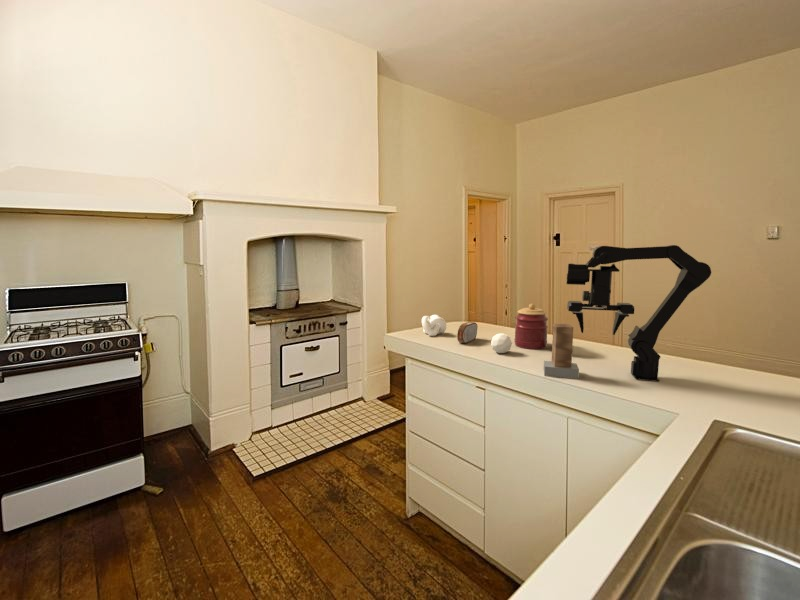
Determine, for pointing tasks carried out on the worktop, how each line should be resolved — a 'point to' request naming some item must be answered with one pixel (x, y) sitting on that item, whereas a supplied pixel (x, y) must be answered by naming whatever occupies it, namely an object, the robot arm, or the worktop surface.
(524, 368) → the worktop surface
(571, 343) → the walnut block
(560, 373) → the grey base plate
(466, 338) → the tin
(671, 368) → the worktop surface
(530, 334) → the canister
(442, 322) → the white lumpy piece
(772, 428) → the worktop surface
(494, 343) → the ball
